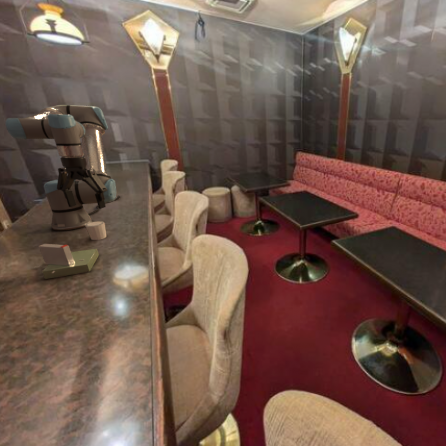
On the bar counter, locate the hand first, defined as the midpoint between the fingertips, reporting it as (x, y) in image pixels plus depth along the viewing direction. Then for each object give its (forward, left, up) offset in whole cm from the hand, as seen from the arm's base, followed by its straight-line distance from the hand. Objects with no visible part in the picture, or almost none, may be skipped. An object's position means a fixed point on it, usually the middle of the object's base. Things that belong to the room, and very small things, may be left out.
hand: (87, 207), depth 106 cm
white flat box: (+27, -4, -12) cm, 30 cm away
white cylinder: (-2, 0, -16) cm, 16 cm away
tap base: (+26, -3, -15) cm, 30 cm away
